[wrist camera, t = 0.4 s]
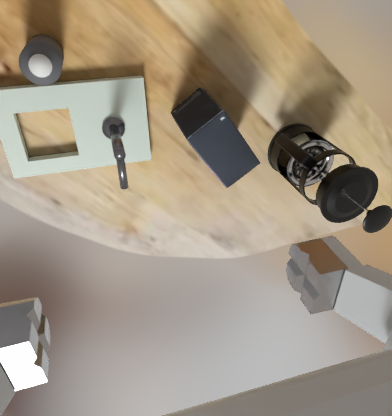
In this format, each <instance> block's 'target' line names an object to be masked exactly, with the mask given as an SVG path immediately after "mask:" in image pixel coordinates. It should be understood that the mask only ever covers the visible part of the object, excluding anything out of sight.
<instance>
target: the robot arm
mask: <svg viewBox="0 0 392 416" xmlns="http://www.w3.org/2000/svg"><path fill="white" fill-rule="evenodd" d="M289 255H290V256H291V257H292V258H291V259H290V260H289V262H288V263H287V268H286V272H287V278H288V280H289V283H290V285H291V286H292V288H293V289H294V290H295V291H297V292H299V293H301V298H300V300H301V301H302V303H303V304H304V306H305V307H306V308H307V310H308V311H309V313H310V314H314V313H318V312H323V311H327V310H332V309H334V311H335V312H337V313H338V314H340V315H341V316H343V317H345V318H346V319H348V320H349V321H351V322H352V323H354V324H355V325H357V326H359V327H360V328H362V329H363V330H365V331H366V332H368V333H369V334H371V335H372V336H374V337H376V338H377V339H379V340H380V341H382V342H383V343H385V345H384V348H383V350H382V351H381V352H377V353H374V354H370V355H367V356H364V357H360V358H357V359H353V360H350V361H347V362H343V363H340V364H337V365H333V366H330V367H326V368H323V369H320V370H316V371H313V372H309V373H306V374H302V375H299V376H296V377H292V378H289V379H285V380H282V381H279V382H275V383H272V384H269V385H265V386H262V387H258V388H255V389H252V390H248V391H245V392H241V393H238V394H235V395H231V396H228V397H224V398H221V399H218V400H214V401H211V402H207V403H204V404H201V405H198V406H194V407H190V408H187V409H184V410H180V411H177V412H174V413H170V414H167V415H163V416H392V275H391V274H389V273H386V272H384V271H382V270H379V269H376V268H374V267H372V266H369V265H362V264H361V263H360V262H359V261H358V260H357V259H356V257H355V256H354V255H353V254H351V252H350V251H349V250H348V249H347V248H346V247H345V246H344V245H343V244H342V243H341V242H340V241H339V240H338V239H337V238H336V237H334V236H328V237H323V238H319V239H314V240H309V241H305V242H301V243H296V244H292V245H291V246H290V249H289ZM41 309H42V305H41V303H40V300H39V299H38V298H37V297H36V298H30V299H25V300H19V301H14V302H8V303H3V304H0V416H1V415H2V413H3V412H4V410H5V408H6V407H7V405H8V404H9V402H10V401H11V399H12V397H13V395H14V394H15V391H16V390H19V389H23V388H26V387H30V386H33V385H37V384H41V383H44V382H47V377H48V365H49V360H48V358H47V355H46V352H47V350H48V349H49V348H50V329H49V324H48V321H47V318H46V316H45V315H43V314H41Z"/></svg>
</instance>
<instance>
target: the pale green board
mask: <svg viewBox="0 0 392 416" xmlns="http://www.w3.org/2000/svg"><path fill="white" fill-rule="evenodd" d="M64 108H69V112H70V116H71V121H72V126H73V130H74V135H75V139H76V144H77V148H78V151H75V152H67V153H60V154H52V155H44V156H36V157H29V155H28V151H27V148H26V145H25V142H24V138H23V135H22V132H21V129H20V125H19V122H18V119H17V116H16V113H24V112H34V111H44V110H54V109H64ZM110 117H116V118H119V119H120V120H122V122H123V123H124V126H125V132H124V134H123V136H122V137H121V139H122V142H123V146H124V150H125V154H126V157H125V158H124V160H125V163H131V162H139V161H146V160H151V150H150V140H149V130H148V119H147V109H146V99H145V89H144V78H143V76H142V75H138V76H126V77H114V78H102V79H90V80H78V81H67V82H55V83H52V84H50V85H37V84H31V85H19V86H7V87H0V139H1V142H2V145H3V147H4V150H5V153H6V156H7V159H8V162H9V165H10V168H11V171H12V174H13V176H14V178H21V177H29V176H36V175H43V174H51V173H58V172H65V171H73V170H80V169H87V168H95V167H102V166H109V165H117V161H116V159H115V157H114V153H113V148H112V143H111V139H109V138H107V137H106V136H105V135H104V133H103V131H102V125H103V122H104V121H105V120H106V119H108V118H110Z"/></svg>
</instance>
